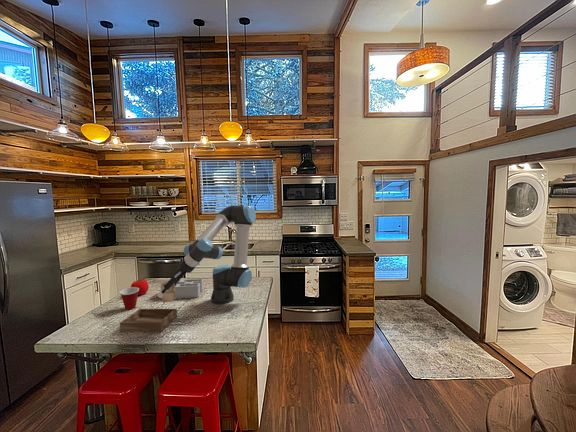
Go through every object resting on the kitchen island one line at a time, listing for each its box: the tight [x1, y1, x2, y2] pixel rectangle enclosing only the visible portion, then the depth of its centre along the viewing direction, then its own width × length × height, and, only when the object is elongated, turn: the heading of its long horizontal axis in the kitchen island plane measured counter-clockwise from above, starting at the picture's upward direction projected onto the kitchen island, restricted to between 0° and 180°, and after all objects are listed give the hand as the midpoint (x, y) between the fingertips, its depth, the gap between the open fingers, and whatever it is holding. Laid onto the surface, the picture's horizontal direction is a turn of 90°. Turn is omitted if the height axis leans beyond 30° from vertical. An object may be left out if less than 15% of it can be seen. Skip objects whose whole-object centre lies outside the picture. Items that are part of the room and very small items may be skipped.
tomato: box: [130, 279, 150, 296], centre depth 197 cm, size 12×12×11 cm
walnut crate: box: [119, 308, 178, 333], centre depth 150 cm, size 18×22×5 cm
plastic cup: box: [119, 286, 139, 311], centre depth 172 cm, size 11×11×12 cm
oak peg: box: [160, 280, 177, 303], centre depth 146 cm, size 5×5×10 cm
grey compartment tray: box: [160, 278, 204, 299], centre depth 196 cm, size 17×28×9 cm, turn 95°
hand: (161, 294), depth 146 cm, fingers closed on oak peg, 5 cm apart
